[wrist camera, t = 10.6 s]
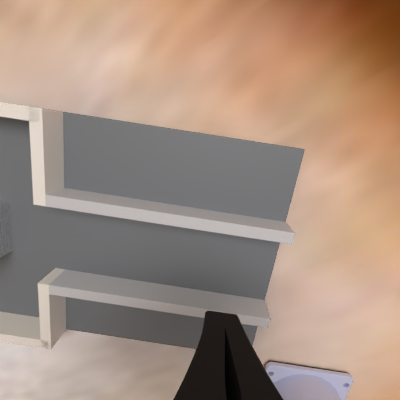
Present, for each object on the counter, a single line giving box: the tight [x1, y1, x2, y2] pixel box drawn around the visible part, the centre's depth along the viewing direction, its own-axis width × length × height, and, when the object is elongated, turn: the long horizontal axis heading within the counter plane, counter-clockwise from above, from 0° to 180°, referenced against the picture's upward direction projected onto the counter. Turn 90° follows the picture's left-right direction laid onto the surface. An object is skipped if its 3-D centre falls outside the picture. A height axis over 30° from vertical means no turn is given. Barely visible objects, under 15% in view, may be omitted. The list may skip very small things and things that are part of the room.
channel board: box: [0, 102, 305, 349], centre depth 17 cm, size 18×33×3 cm, turn 82°
